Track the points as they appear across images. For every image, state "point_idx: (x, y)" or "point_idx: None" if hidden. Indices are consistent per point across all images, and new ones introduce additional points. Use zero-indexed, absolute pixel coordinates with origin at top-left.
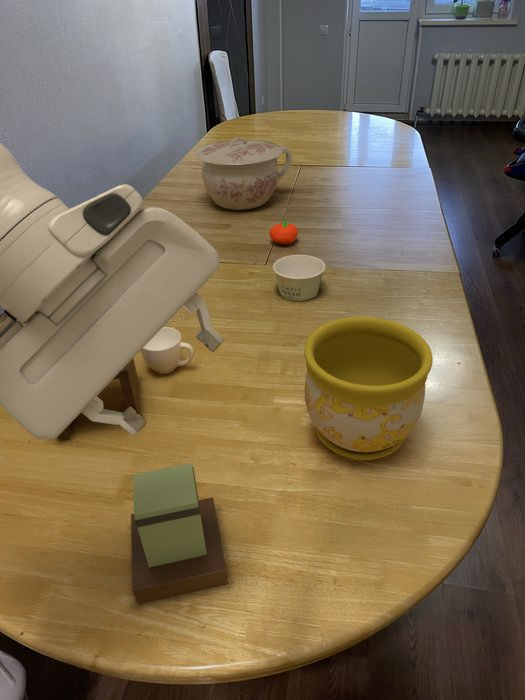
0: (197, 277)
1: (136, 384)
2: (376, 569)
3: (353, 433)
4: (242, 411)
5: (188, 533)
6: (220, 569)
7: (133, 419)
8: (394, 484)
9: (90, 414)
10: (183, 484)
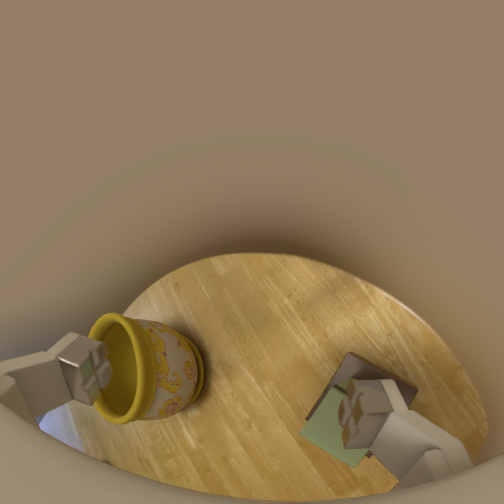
0: None
1: None
2: (263, 281)
3: (179, 350)
4: (219, 463)
5: None
6: (351, 356)
7: (371, 397)
8: (201, 319)
9: (458, 455)
10: (325, 418)
